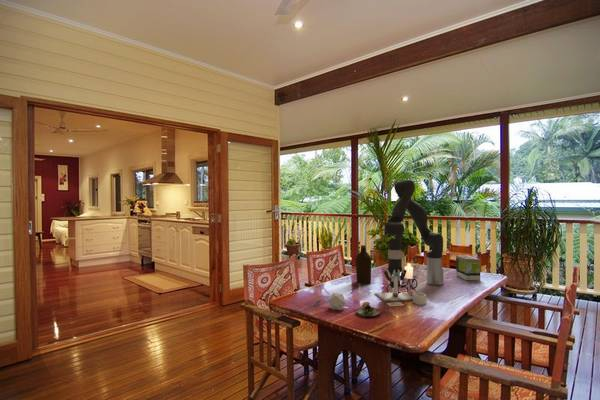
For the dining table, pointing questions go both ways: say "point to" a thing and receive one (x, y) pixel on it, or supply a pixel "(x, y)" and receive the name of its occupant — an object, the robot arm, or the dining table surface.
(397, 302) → the word card
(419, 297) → the pen cup
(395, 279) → the marker
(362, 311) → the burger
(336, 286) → the dining table surface
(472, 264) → the tea box
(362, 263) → the olive oil
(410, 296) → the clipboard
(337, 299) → the white faceted polyhedron
